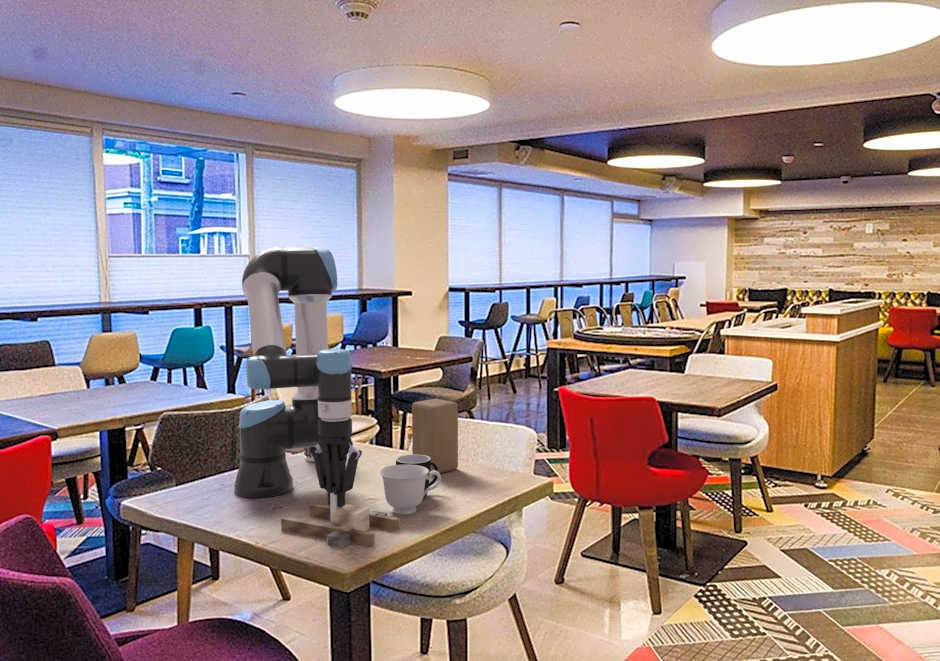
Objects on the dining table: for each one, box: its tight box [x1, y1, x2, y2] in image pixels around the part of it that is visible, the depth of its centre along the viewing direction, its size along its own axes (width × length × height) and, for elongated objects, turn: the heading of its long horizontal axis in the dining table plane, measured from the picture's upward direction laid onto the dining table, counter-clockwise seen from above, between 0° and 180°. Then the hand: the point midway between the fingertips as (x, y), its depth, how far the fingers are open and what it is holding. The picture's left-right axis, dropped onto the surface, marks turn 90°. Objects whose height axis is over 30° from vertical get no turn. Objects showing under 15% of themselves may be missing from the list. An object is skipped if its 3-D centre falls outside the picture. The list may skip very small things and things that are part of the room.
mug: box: [395, 453, 438, 500], centre depth 197 cm, size 12×9×10 cm
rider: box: [331, 503, 370, 532], centre depth 172 cm, size 6×6×5 cm
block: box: [411, 398, 459, 474], centre depth 221 cm, size 10×10×20 cm
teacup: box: [379, 464, 442, 516], centre depth 185 cm, size 12×15×10 cm
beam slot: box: [280, 503, 400, 548], centre depth 173 cm, size 24×18×3 cm
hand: (336, 520), depth 173 cm, fingers closed
